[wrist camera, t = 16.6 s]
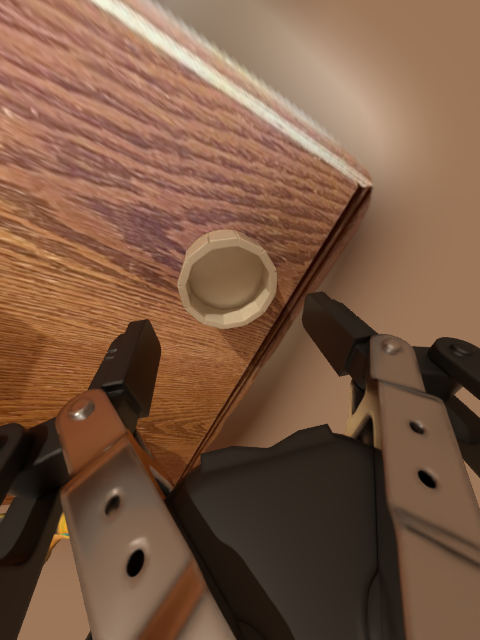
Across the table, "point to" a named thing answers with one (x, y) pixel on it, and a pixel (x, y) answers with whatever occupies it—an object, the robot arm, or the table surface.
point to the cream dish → (226, 279)
